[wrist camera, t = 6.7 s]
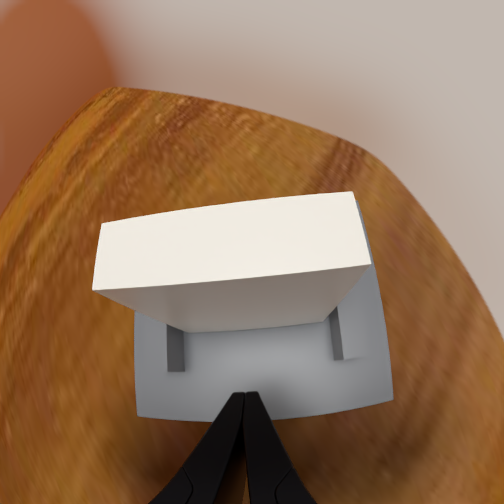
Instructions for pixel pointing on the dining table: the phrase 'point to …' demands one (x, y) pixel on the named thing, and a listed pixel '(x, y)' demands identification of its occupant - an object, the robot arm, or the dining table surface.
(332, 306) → the key
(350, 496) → the dining table surface
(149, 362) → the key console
